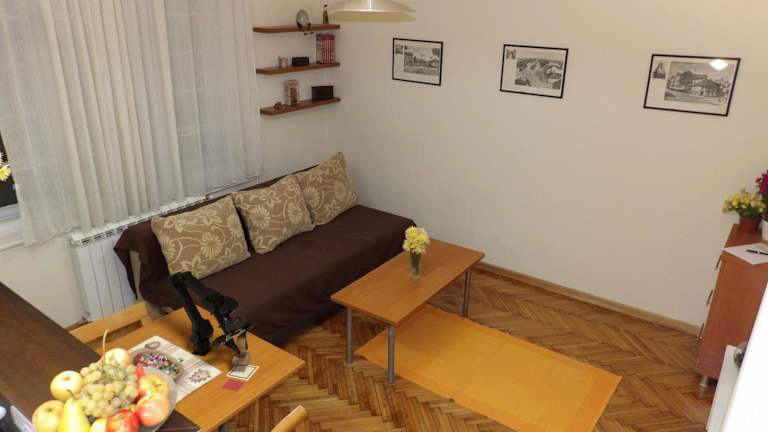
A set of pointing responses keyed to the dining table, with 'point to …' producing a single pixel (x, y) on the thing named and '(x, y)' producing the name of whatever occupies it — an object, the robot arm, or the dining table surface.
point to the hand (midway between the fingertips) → (243, 351)
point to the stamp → (241, 353)
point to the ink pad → (233, 385)
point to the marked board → (242, 372)
